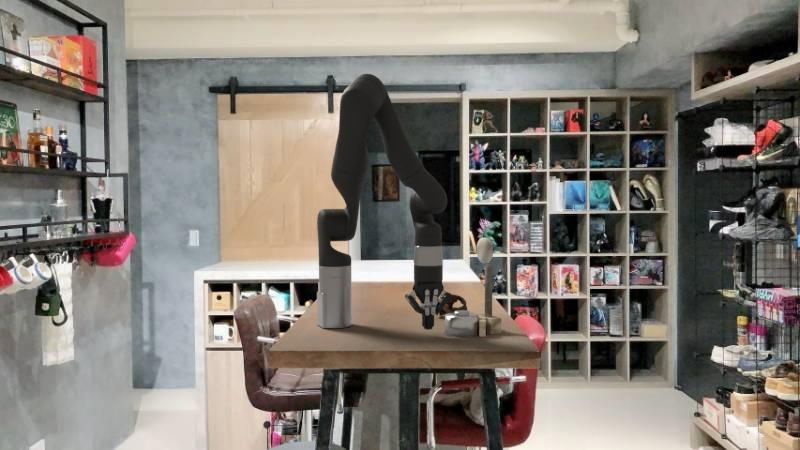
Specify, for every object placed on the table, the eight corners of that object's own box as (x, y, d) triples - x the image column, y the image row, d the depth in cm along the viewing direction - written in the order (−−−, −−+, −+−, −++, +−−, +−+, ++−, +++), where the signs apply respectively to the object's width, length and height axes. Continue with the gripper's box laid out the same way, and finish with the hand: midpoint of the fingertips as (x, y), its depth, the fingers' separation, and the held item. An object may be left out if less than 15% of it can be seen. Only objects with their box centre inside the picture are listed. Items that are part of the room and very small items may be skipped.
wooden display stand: (480, 336, 166) (481, 239, 165) (459, 328, 177) (459, 236, 177) (505, 334, 169) (505, 238, 168) (482, 326, 180) (482, 236, 179)
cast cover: (454, 338, 165) (453, 315, 165) (439, 331, 174) (439, 310, 174) (484, 335, 169) (484, 313, 168) (468, 329, 177) (468, 307, 177)
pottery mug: (465, 317, 199) (471, 296, 194) (460, 335, 191) (465, 314, 186) (428, 306, 200) (433, 285, 196) (421, 324, 192) (426, 303, 188)
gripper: (411, 265, 161) (411, 333, 162) (457, 263, 166) (457, 329, 167) (399, 262, 168) (399, 328, 168) (444, 260, 173) (443, 324, 174)
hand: (428, 328), depth 168 cm, fingers closed
